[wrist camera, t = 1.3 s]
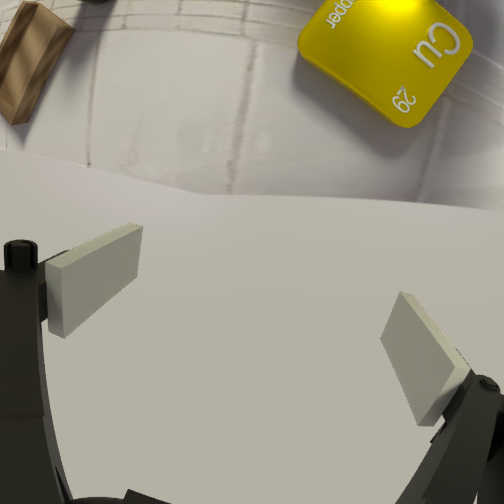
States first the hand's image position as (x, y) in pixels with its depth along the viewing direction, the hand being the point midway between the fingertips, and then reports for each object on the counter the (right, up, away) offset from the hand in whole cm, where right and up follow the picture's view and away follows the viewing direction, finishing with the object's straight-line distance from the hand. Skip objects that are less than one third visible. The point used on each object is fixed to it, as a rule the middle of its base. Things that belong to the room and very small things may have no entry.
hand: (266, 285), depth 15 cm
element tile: (+14, +25, +13) cm, 31 cm away
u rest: (-36, +32, +20) cm, 52 cm away
